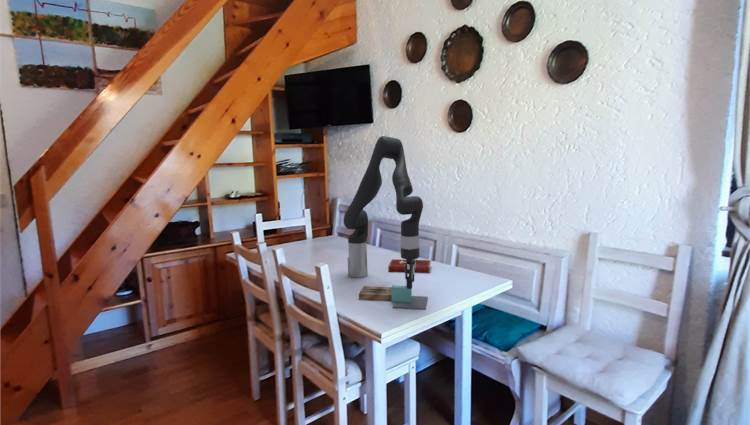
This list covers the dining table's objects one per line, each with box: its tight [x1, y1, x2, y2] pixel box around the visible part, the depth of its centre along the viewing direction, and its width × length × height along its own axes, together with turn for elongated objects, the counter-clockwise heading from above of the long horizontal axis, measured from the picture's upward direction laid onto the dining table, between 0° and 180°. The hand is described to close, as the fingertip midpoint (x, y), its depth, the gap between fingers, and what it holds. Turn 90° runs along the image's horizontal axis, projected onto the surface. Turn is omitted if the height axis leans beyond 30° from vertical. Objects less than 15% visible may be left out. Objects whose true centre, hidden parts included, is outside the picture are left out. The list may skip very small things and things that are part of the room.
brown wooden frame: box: [358, 285, 393, 302], centre depth 178 cm, size 14×10×3 cm
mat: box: [392, 295, 429, 311], centre depth 169 cm, size 13×13×1 cm
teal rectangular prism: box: [390, 284, 413, 302], centre depth 170 cm, size 6×2×8 cm
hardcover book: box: [388, 258, 432, 274], centre depth 216 cm, size 12×21×4 cm, turn 79°
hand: (410, 285), depth 168 cm, fingers open, 8 cm apart
